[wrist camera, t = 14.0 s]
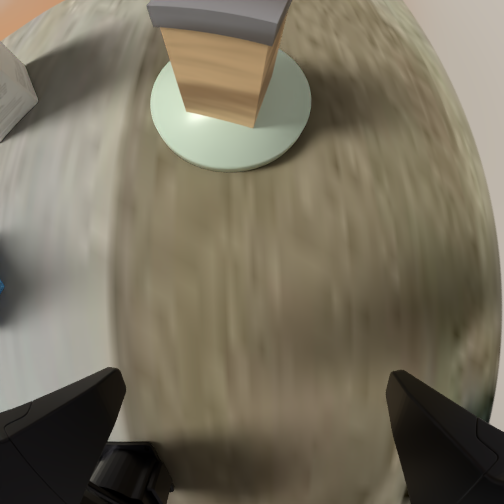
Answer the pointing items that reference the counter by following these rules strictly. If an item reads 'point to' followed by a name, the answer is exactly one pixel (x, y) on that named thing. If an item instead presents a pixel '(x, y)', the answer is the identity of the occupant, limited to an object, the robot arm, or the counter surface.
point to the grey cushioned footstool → (222, 52)
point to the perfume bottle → (1, 286)
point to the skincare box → (13, 91)
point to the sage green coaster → (230, 134)
